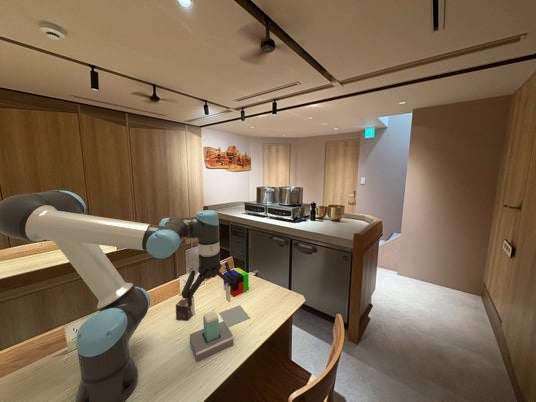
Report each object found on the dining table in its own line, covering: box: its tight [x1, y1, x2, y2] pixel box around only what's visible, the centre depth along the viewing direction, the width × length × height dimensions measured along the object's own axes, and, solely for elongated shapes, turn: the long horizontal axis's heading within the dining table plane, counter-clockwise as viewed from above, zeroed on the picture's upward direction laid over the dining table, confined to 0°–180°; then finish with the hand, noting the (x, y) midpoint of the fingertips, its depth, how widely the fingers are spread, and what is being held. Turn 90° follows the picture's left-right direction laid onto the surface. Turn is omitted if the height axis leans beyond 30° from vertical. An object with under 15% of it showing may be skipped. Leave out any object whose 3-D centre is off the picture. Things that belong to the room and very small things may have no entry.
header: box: [189, 320, 235, 362], centre depth 82 cm, size 14×10×4 cm
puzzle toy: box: [223, 267, 250, 298], centre depth 120 cm, size 10×10×10 cm
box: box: [175, 297, 194, 322], centre depth 97 cm, size 6×6×7 cm
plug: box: [202, 310, 220, 344], centre depth 81 cm, size 4×4×12 cm
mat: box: [218, 305, 251, 328], centre depth 98 cm, size 11×11×1 cm
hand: (211, 306), depth 80 cm, fingers open, 13 cm apart
